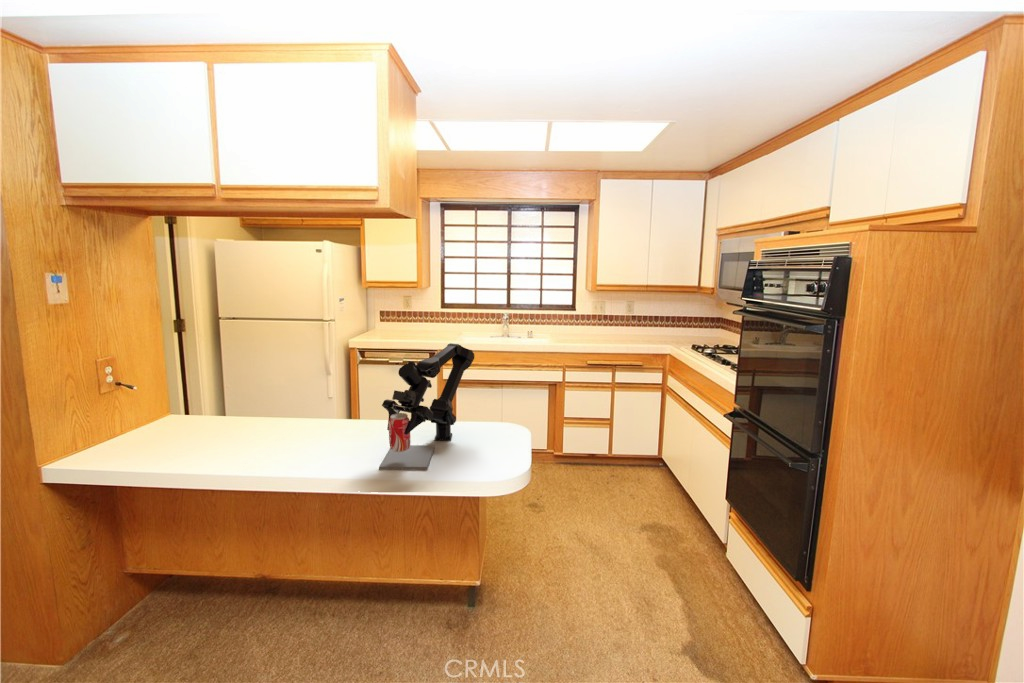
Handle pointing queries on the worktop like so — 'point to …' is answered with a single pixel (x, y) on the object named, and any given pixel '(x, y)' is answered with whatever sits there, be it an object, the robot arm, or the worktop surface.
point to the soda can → (399, 432)
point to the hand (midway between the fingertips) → (396, 432)
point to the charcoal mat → (408, 458)
